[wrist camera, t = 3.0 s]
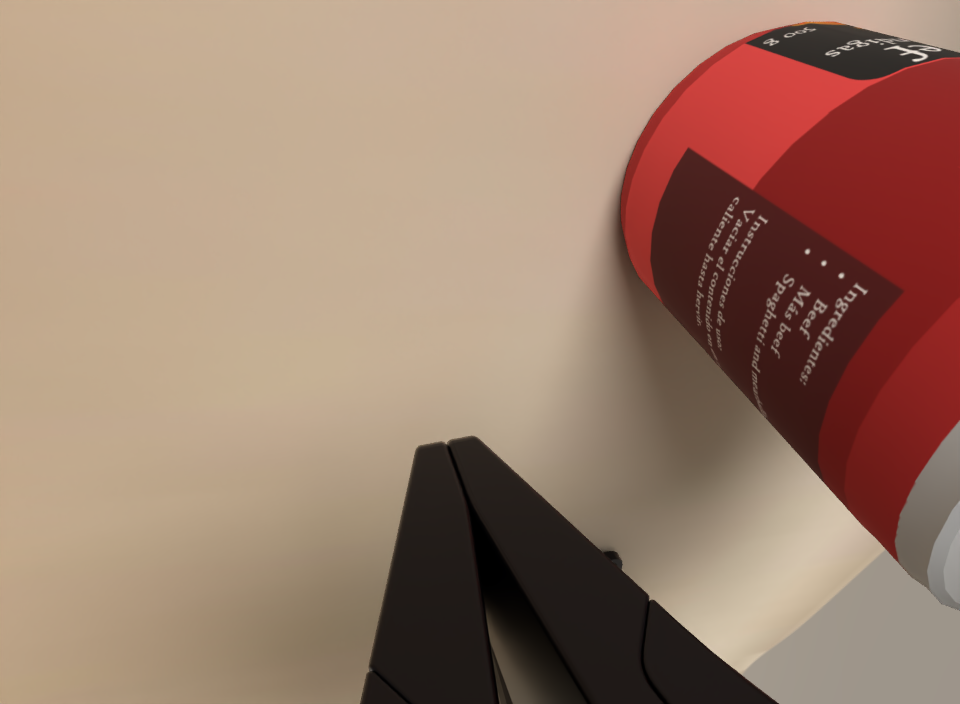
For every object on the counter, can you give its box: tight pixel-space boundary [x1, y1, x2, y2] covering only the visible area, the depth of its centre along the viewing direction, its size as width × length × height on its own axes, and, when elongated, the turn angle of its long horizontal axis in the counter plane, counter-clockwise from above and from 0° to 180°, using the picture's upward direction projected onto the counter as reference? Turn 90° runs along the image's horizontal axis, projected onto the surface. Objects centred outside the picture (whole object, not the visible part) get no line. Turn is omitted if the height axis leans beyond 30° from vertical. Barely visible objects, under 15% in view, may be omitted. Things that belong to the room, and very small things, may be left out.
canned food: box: [621, 22, 960, 611], centre depth 13 cm, size 8×8×11 cm
